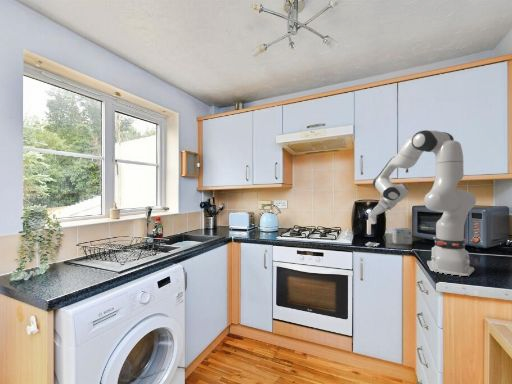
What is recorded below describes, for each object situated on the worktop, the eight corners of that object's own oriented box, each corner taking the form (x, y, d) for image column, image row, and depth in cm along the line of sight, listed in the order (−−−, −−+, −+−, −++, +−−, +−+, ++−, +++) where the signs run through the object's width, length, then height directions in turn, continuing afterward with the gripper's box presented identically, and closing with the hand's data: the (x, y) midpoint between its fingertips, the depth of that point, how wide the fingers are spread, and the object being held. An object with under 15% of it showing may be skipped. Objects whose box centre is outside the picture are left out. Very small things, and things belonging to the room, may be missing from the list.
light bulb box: (407, 242, 179) (407, 227, 179) (412, 244, 173) (412, 229, 172) (392, 242, 180) (392, 227, 180) (396, 244, 174) (396, 229, 173)
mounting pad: (376, 246, 168) (376, 245, 168) (365, 245, 172) (365, 244, 172) (379, 244, 174) (379, 243, 174) (369, 242, 179) (368, 242, 179)
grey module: (374, 224, 170) (374, 212, 170) (368, 223, 173) (368, 211, 172) (376, 223, 174) (376, 211, 173) (370, 222, 176) (370, 211, 176)
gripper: (386, 199, 176) (372, 212, 183) (379, 201, 160) (363, 214, 167) (393, 205, 173) (378, 218, 180) (387, 208, 158) (370, 222, 164)
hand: (371, 216), depth 173 cm, fingers closed on grey module, 4 cm apart
